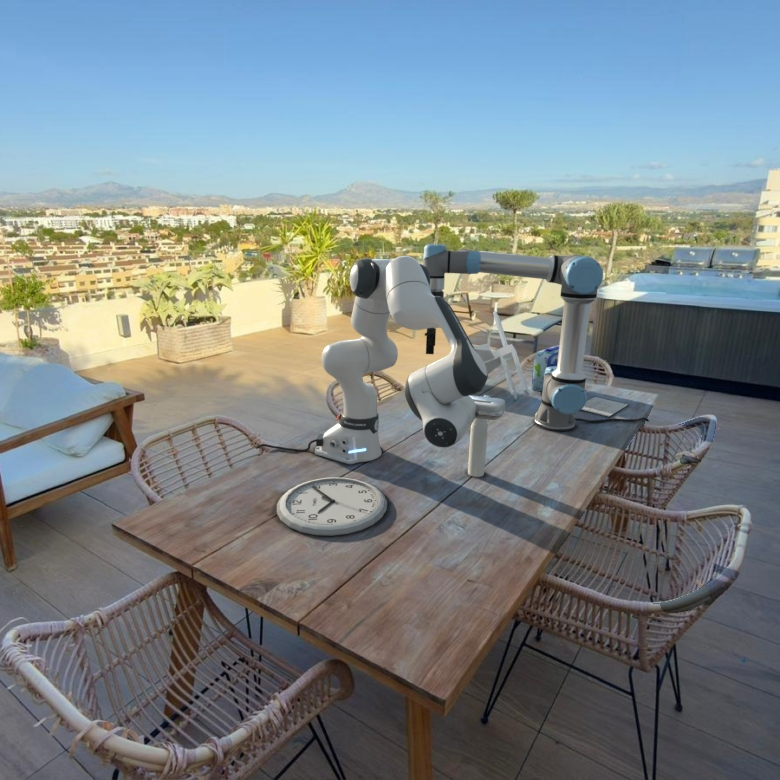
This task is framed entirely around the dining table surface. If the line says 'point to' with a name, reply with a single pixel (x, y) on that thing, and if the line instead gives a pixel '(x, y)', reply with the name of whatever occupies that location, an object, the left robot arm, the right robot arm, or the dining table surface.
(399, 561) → the dining table surface
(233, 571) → the dining table surface
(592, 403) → the invitation card
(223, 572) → the dining table surface
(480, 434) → the bottle
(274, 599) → the dining table surface
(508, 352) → the white plastic object
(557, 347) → the lunch box
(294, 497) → the wall clock
